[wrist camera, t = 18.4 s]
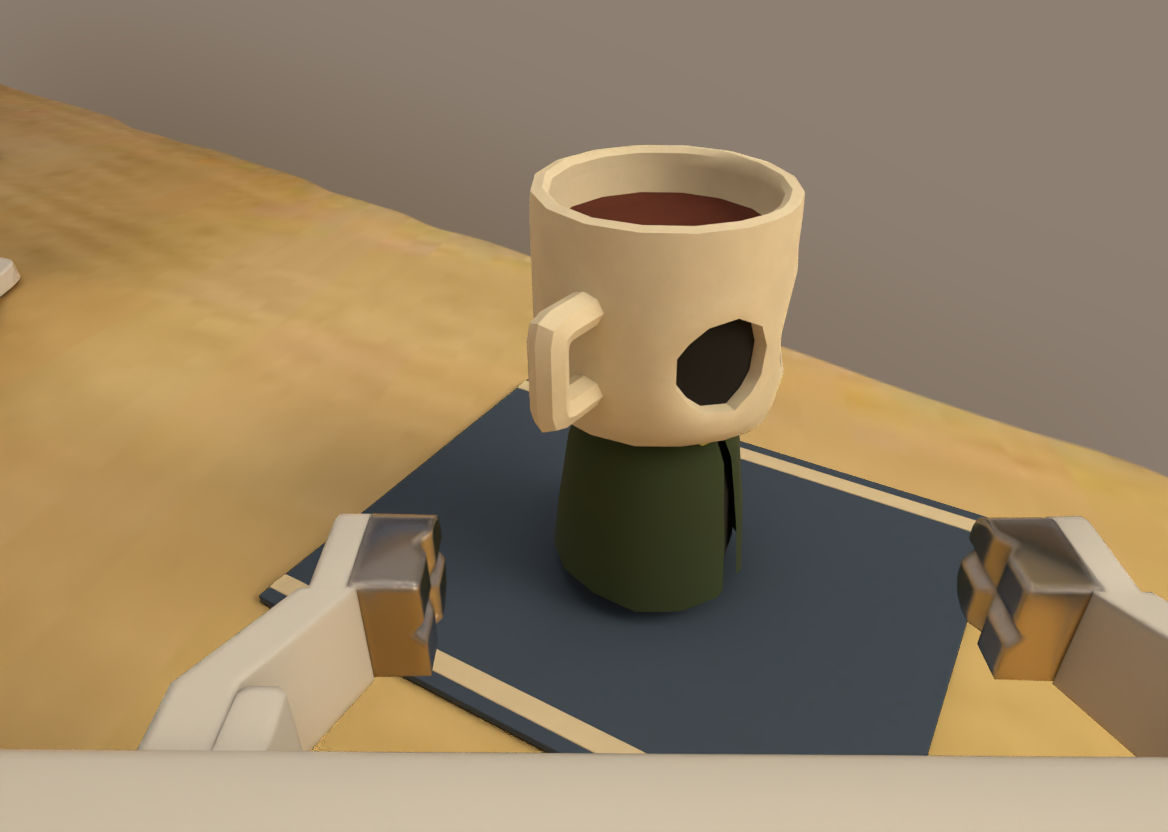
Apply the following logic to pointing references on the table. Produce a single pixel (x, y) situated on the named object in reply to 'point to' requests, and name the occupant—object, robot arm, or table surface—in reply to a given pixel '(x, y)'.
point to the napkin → (689, 610)
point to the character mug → (657, 355)
